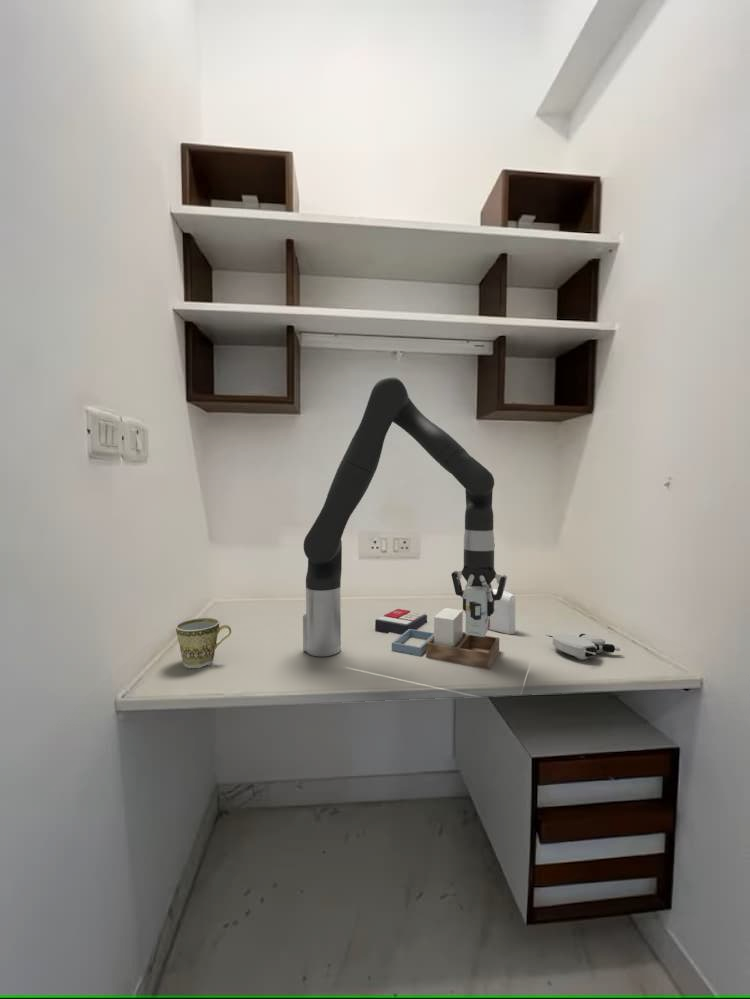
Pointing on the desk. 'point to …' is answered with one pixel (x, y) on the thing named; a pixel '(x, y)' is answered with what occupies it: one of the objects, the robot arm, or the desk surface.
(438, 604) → the desk surface
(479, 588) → the ink box
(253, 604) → the desk surface
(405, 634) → the tray
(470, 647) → the brown divided wooden organizer
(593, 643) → the robot toy
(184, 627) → the ceramic cup
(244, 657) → the desk surface
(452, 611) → the white box
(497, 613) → the photo printer
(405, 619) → the calculator
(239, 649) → the desk surface
